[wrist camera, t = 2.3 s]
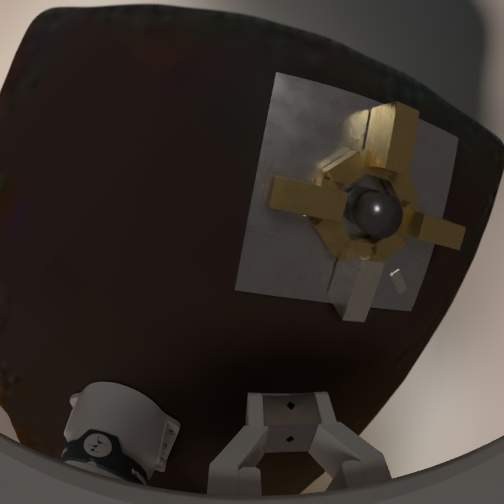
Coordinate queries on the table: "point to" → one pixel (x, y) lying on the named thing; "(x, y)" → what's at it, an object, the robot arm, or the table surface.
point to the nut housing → (359, 193)
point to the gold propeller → (334, 200)
